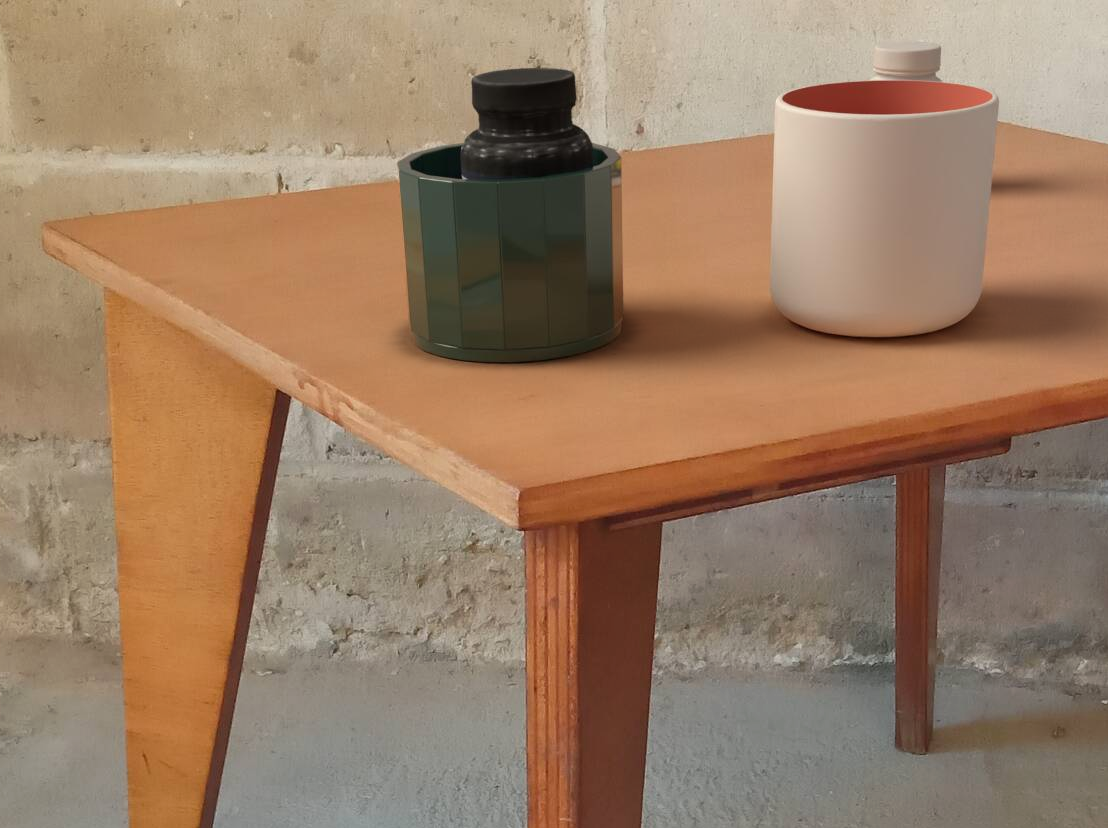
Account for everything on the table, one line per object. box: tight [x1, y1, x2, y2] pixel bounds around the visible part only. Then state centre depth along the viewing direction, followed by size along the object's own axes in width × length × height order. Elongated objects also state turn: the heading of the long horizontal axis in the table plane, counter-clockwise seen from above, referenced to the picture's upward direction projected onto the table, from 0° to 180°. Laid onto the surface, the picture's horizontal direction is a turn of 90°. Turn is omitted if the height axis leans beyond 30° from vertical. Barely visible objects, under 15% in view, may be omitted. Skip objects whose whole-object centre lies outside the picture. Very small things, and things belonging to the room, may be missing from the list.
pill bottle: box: [460, 67, 594, 180], centre depth 79 cm, size 6×6×11 cm
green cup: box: [396, 142, 624, 363], centre depth 80 cm, size 10×10×8 cm
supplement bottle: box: [869, 41, 943, 82], centre depth 104 cm, size 5×5×8 cm
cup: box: [769, 79, 1000, 338], centre depth 80 cm, size 10×10×10 cm
